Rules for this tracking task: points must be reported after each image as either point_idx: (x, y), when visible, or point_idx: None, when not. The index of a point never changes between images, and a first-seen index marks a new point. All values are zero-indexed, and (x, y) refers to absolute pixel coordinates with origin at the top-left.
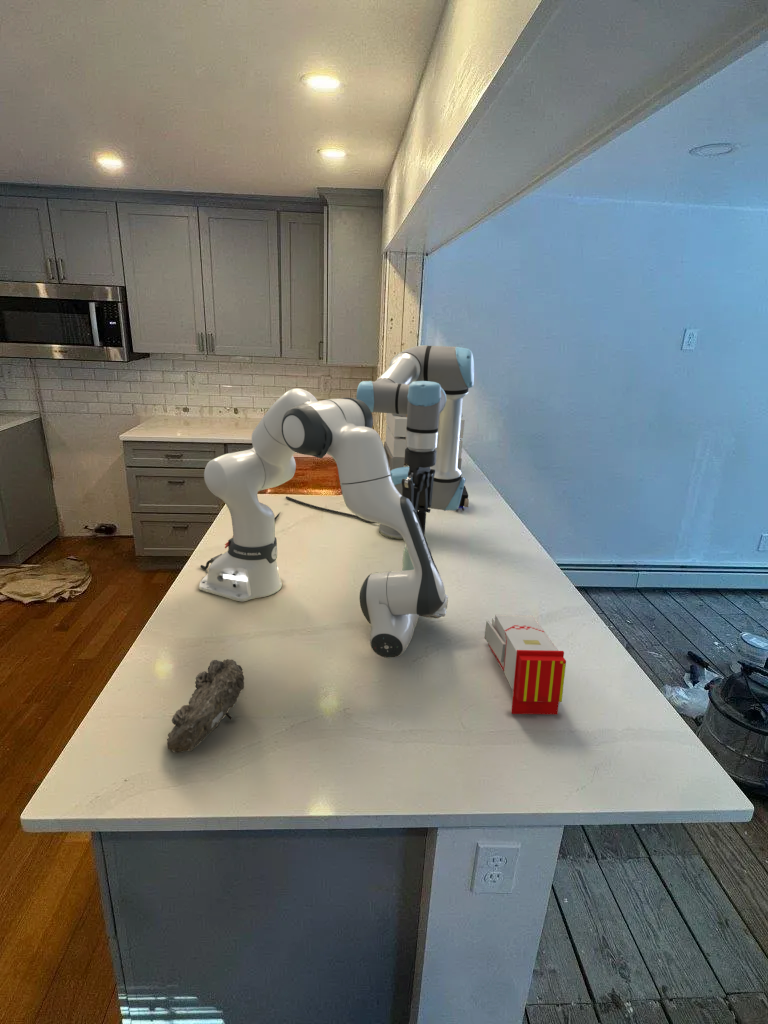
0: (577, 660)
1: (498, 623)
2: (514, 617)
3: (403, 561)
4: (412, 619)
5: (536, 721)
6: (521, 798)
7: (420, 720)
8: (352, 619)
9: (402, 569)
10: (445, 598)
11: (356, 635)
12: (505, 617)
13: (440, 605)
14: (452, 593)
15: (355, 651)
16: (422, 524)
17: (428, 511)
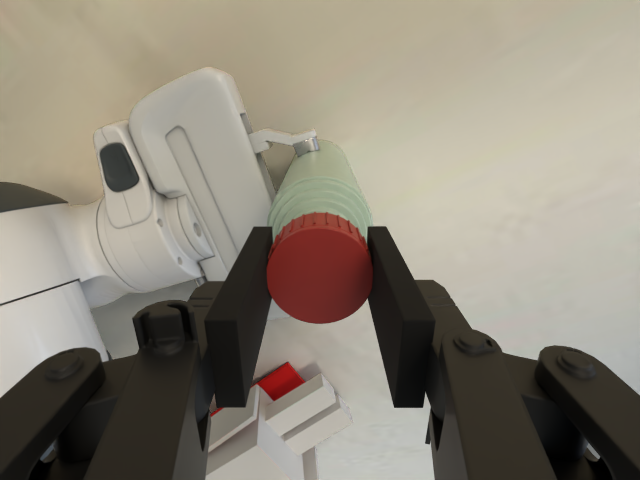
0: (335, 470)
1: (229, 456)
2: (268, 476)
3: (283, 183)
4: (120, 295)
5: None
6: None
7: None
8: (175, 53)
9: (291, 170)
10: (280, 316)
11: (122, 114)
12: (256, 464)
13: None
14: (470, 220)
15: (69, 153)
16: (378, 324)
17: (425, 443)
